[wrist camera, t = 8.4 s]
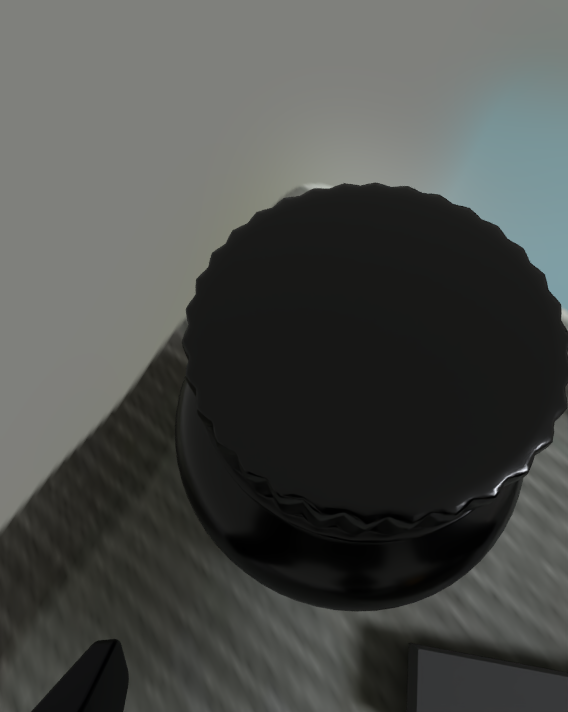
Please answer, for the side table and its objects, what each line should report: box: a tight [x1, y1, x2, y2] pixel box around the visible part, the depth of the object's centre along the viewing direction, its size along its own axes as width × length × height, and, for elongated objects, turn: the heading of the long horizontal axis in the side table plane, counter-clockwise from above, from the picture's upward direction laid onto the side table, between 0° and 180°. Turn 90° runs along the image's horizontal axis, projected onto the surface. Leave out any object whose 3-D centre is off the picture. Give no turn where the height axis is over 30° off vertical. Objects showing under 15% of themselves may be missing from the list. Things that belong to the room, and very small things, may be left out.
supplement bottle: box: [175, 183, 568, 611], centre depth 11 cm, size 7×7×12 cm
